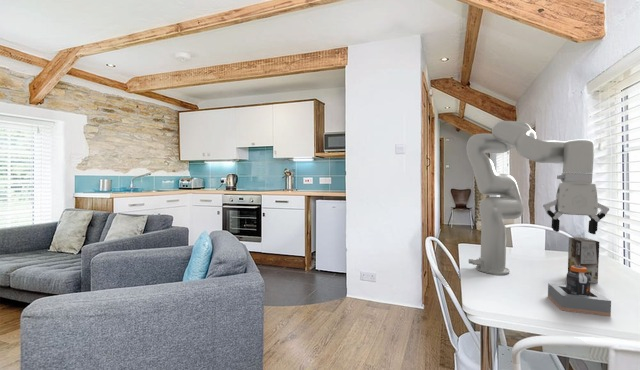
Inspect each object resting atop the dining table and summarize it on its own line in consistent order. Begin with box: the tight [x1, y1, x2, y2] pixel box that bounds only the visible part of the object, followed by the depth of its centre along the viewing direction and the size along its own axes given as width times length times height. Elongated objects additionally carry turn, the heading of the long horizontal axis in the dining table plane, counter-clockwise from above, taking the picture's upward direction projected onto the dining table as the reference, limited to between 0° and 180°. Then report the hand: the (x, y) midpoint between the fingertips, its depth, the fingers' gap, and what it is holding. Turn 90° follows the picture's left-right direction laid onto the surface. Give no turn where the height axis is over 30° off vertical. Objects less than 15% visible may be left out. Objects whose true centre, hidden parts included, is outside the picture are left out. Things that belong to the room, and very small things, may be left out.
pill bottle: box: [565, 266, 592, 296], centre depth 102 cm, size 6×6×11 cm
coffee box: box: [567, 236, 600, 284], centre depth 129 cm, size 9×6×16 cm
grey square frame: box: [547, 282, 612, 317], centre depth 102 cm, size 12×12×4 cm
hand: (573, 232), depth 104 cm, fingers open, 9 cm apart
